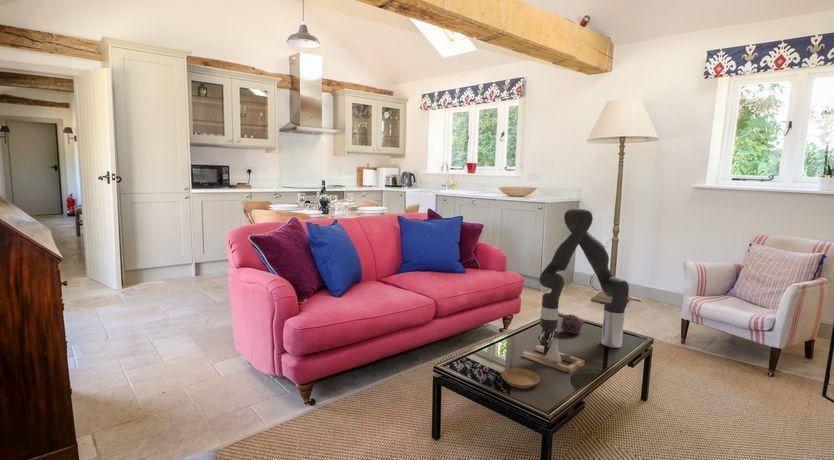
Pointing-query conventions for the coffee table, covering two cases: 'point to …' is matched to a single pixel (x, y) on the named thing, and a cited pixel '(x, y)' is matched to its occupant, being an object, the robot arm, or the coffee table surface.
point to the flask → (553, 351)
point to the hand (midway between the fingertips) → (546, 353)
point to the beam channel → (569, 369)
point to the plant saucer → (520, 377)
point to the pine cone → (571, 324)
